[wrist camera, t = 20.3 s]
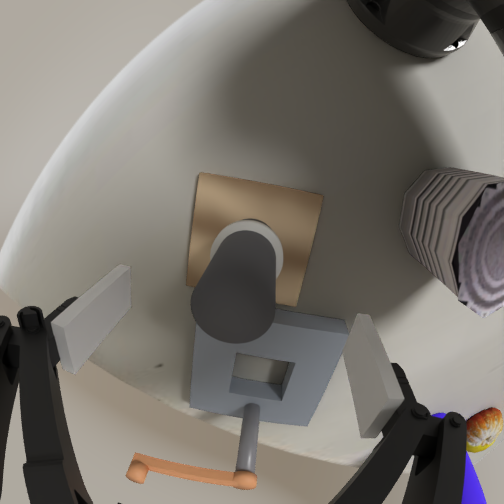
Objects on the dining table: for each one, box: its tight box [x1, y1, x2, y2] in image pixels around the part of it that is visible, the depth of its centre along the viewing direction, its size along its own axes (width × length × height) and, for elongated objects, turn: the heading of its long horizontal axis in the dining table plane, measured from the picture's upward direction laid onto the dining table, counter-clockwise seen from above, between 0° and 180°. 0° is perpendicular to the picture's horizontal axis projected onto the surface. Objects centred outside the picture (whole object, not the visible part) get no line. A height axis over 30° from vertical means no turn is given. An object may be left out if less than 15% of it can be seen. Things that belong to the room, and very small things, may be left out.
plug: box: [191, 218, 283, 344], centre depth 23 cm, size 6×6×13 cm
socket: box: [190, 309, 349, 473], centre depth 29 cm, size 16×16×13 cm
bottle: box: [431, 413, 486, 504], centre depth 24 cm, size 8×8×30 cm
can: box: [399, 167, 504, 318], centre depth 22 cm, size 11×11×12 cm
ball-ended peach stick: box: [126, 453, 257, 490], centre depth 23 cm, size 13×3×3 cm, turn 86°
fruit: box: [466, 407, 503, 453], centre depth 36 cm, size 11×10×8 cm
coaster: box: [186, 172, 324, 307], centre depth 30 cm, size 12×12×1 cm
